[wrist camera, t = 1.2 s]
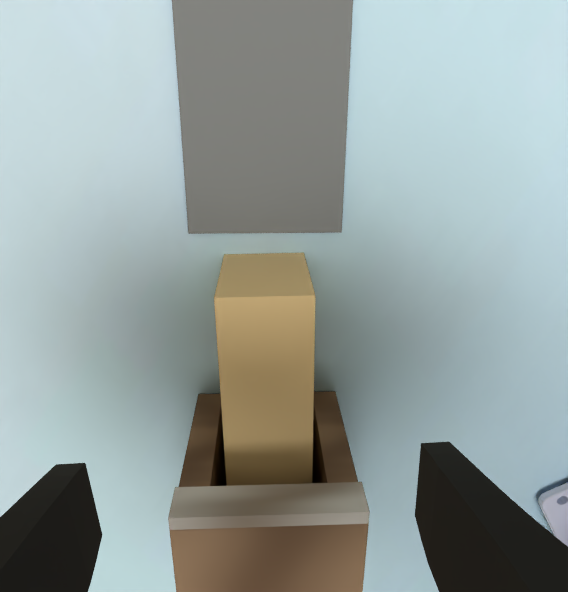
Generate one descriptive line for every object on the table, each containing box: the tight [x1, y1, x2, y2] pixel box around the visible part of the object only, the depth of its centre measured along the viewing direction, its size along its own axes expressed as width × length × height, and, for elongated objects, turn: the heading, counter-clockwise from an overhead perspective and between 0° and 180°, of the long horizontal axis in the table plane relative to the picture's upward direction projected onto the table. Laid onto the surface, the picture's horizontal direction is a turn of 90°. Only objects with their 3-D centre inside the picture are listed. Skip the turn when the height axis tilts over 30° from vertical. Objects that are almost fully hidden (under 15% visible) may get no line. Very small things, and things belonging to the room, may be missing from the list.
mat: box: [172, 0, 353, 234], centre depth 16 cm, size 6×10×1 cm, turn 0°
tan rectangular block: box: [214, 253, 315, 486], centre depth 19 cm, size 3×12×4 cm, turn 1°
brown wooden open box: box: [168, 391, 370, 592], centre depth 19 cm, size 6×8×7 cm
